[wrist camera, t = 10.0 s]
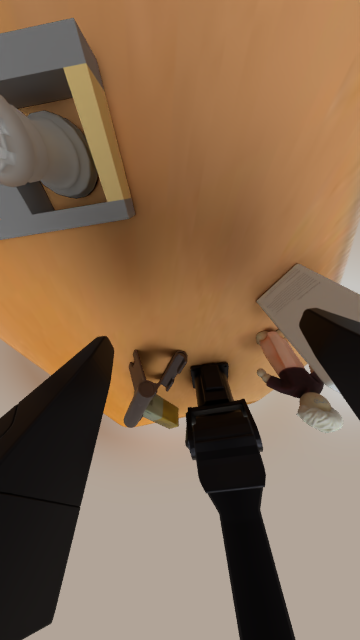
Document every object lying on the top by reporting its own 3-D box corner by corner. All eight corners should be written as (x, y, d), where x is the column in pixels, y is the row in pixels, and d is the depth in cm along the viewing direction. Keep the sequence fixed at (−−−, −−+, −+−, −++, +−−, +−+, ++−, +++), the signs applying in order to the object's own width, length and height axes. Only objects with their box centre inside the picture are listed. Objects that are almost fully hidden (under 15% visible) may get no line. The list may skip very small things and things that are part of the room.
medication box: (133, 390, 33) (129, 411, 30) (143, 385, 32) (140, 407, 29) (169, 410, 39) (169, 430, 36) (179, 407, 38) (179, 427, 35)
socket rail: (135, 214, 15) (129, 218, 13) (-32, 241, 16) (-69, 251, 13) (96, 58, 10) (73, 18, 8) (-147, 108, 11) (-237, 84, 8)
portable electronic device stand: (168, 381, 31) (167, 431, 25) (126, 373, 29) (113, 426, 23) (186, 351, 27) (192, 404, 20) (137, 339, 24) (126, 394, 18)
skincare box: (274, 314, 23) (350, 404, 13) (253, 299, 21) (322, 389, 12) (317, 279, 20) (456, 362, 10) (297, 258, 18) (440, 333, 9)
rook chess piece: (111, 184, 14) (61, 177, 7) (66, 207, 14) (-15, 219, 8) (71, 102, 11) (-61, -22, 5) (19, 135, 12) (-157, 69, 5)
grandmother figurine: (295, 321, 24) (387, 416, 14) (291, 339, 26) (368, 432, 16) (240, 333, 25) (289, 431, 15) (242, 350, 27) (285, 444, 17)
